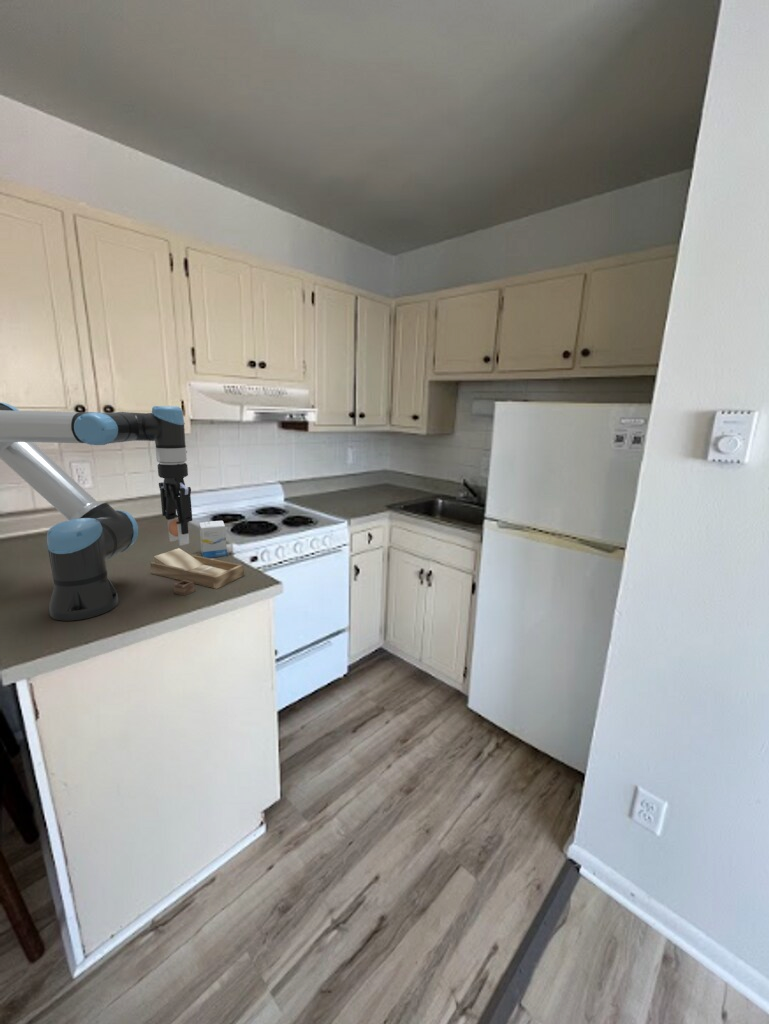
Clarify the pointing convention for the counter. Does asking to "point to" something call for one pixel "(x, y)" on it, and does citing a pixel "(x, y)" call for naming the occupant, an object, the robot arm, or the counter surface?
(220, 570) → the tray
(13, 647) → the counter surface
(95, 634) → the counter surface
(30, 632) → the counter surface
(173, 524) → the ball
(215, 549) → the ink box
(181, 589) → the small brown open box
